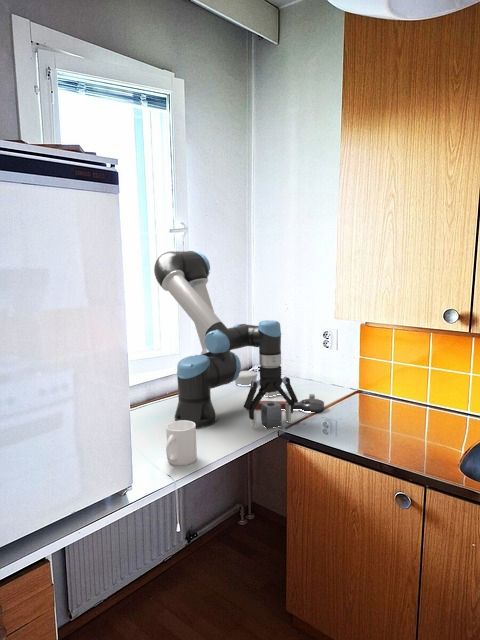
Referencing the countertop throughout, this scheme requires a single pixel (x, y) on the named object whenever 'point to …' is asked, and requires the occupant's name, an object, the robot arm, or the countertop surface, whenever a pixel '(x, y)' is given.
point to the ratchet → (302, 404)
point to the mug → (181, 442)
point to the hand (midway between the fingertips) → (271, 425)
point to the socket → (271, 414)
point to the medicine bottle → (270, 392)
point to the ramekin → (246, 377)
